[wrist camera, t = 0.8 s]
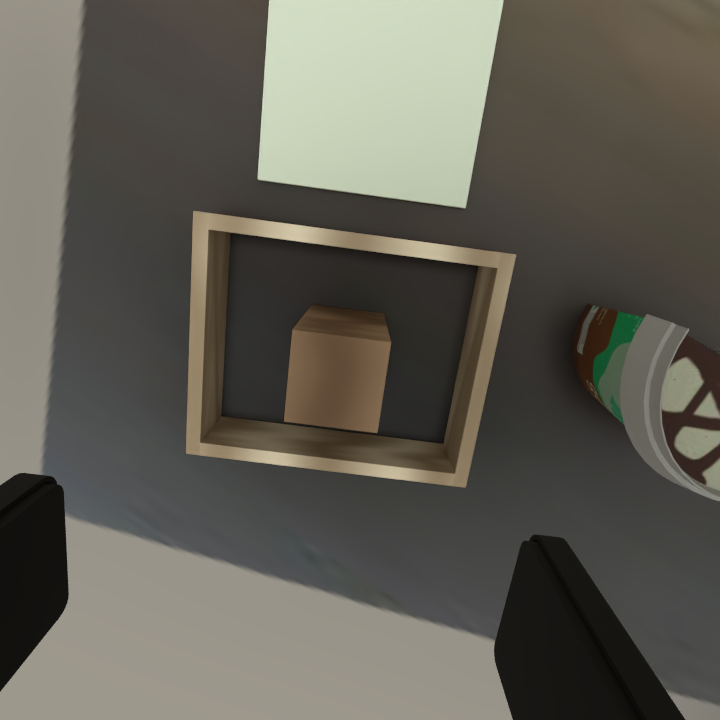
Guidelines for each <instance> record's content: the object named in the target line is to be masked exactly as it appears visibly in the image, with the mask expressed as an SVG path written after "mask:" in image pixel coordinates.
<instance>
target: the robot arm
mask: <svg viewBox="0 0 720 720" xmlns="http://www.w3.org/2000/svg"><path fill="white" fill-rule="evenodd" d="M67 573H68V572H67V552H66V531H65V509H64V491H63V488H62V486H60V485H57V482H56V480H55V479H54V478H53V477H51V476H44V475H36V474H27V473H19V474H17V475H15V476H13V477H12V478H10V479H9V480H8V481H6V482H5V483H3V484H2V485H0V691H1V690H2V689H3V687H4V686H5V685H6V684H7V682H8V681H9V680H10V679H11V677H12V676H13V675H14V674H15V672H16V671H17V670H18V669H19V667H20V666H21V665H22V664H23V662H24V661H25V660H26V659H27V657H28V656H29V655H30V654H31V652H32V651H33V650H34V649H35V647H36V646H37V645H38V644H39V642H40V641H41V640H42V639H43V637H44V636H45V635H46V633H47V632H48V631H49V630H50V628H51V627H52V626H53V625H54V624H55V622H56V621H57V620H58V619H59V617H60V616H61V614H62V613H63V611H64V609H65V607H66V604H67V601H68V594H69V593H68V574H67ZM494 654H495V655H494V656H495V663H496V666H497V670H498V673H499V676H500V679H501V683H502V686H503V689H504V692H505V696H506V699H507V702H508V705H509V708H510V712H511V715H512V718H513V720H685V719H684V717H683V716H682V714H681V713H680V711H679V710H678V708H677V707H676V705H675V704H674V702H673V701H672V699H671V698H670V696H669V695H668V693H667V692H666V690H665V689H664V687H663V686H662V684H661V683H660V681H659V680H658V678H657V677H656V675H655V674H654V672H653V671H652V669H651V668H650V666H649V665H648V663H647V662H646V660H645V659H644V657H643V656H642V654H641V653H640V651H639V650H638V648H637V647H636V645H635V644H634V642H633V641H632V639H631V638H630V636H629V635H628V633H627V632H626V630H625V629H624V627H623V626H622V624H621V623H620V621H619V620H618V618H617V617H616V615H615V614H614V612H613V611H612V609H611V608H610V606H609V605H608V603H607V602H606V600H605V599H604V597H603V596H602V594H601V593H600V591H599V590H598V588H597V587H596V585H595V584H594V582H593V581H592V579H591V578H590V576H589V575H588V573H587V572H586V570H585V569H584V567H583V566H582V564H581V563H580V561H579V560H578V558H577V557H576V555H575V554H574V552H573V551H572V549H571V548H570V546H569V545H568V543H567V542H566V541H565V540H564V539H563V538H560V537H552V536H544V535H533V536H532V537H531V538H530V540H529V541H523V543H522V544H521V547H520V551H519V554H518V558H517V562H516V566H515V569H514V573H513V577H512V581H511V584H510V588H509V592H508V596H507V599H506V603H505V607H504V611H503V614H502V618H501V622H500V626H499V629H498V633H497V637H496V641H495V646H494Z"/></svg>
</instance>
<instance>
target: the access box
mask: <svg viewBox="0 0 720 720" xmlns="http://www.w3.org/2000/svg"><path fill="white" fill-rule="evenodd" d="M231 233H239V234H246V235H254V236H261V237H269V238H276V239H283V240H291V241H298V242H306V243H313V244H321V245H328V246H336V247H343V248H350V249H358V250H365V251H373V252H380V253H388V254H395V255H403V256H410V257H418V258H425V259H432V260H440V261H447V262H455V263H462V264H470V265H477V266H478V270H477V275H476V280H475V286H474V291H473V296H472V301H471V306H470V311H469V316H468V321H467V326H466V331H465V337H464V342H463V347H462V352H461V357H460V362H459V367H458V372H457V377H456V382H455V387H454V393H453V398H452V403H451V408H450V413H449V418H448V423H447V428H446V433H445V438H444V444H441V443H433V442H425V441H417V440H409V439H400V438H392V437H384V436H376V435H368V434H360V433H352V432H344V431H336V430H328V429H320V428H312V427H304V426H295V425H287V424H279V423H271V422H263V421H255V420H247V419H239V418H231V417H223V416H221V413H222V393H223V374H224V355H225V335H226V316H227V297H228V278H229V258H230V239H231ZM515 258H516V255H515V254H508V253H501V252H493V251H486V250H478V249H471V248H464V247H456V246H449V245H441V244H434V243H427V242H419V241H412V240H404V239H397V238H390V237H382V236H375V235H367V234H360V233H353V232H345V231H338V230H330V229H323V228H316V227H308V226H301V225H293V224H286V223H279V222H271V221H264V220H257V219H249V218H242V217H234V216H227V215H220V214H212V213H205V212H197V211H193V238H192V271H191V304H190V337H189V370H188V403H187V437H186V454H193V455H202V456H210V457H218V458H226V459H235V460H243V461H251V462H259V463H268V464H276V465H284V466H292V467H300V468H309V469H317V470H325V471H333V472H342V473H350V474H358V475H366V476H374V477H383V478H391V479H399V480H407V481H416V482H424V483H432V484H440V485H449V486H457V487H465V488H466V484H467V480H468V475H469V470H470V466H471V461H472V457H473V452H474V447H475V443H476V438H477V433H478V429H479V424H480V420H481V415H482V410H483V406H484V401H485V397H486V392H487V387H488V383H489V378H490V374H491V369H492V364H493V360H494V355H495V350H496V346H497V341H498V337H499V332H500V327H501V323H502V318H503V314H504V309H505V304H506V300H507V295H508V290H509V286H510V281H511V277H512V272H513V267H514V263H515Z"/></svg>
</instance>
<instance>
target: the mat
mask: <svg viewBox="0 0 720 720" xmlns="http://www.w3.org/2000/svg"><path fill="white" fill-rule="evenodd" d="M503 1H504V0H269V12H268V27H267V43H266V58H265V73H264V89H263V104H262V119H261V135H260V150H259V166H258V180H259V181H267V182H274V183H281V184H288V185H296V186H303V187H310V188H317V189H325V190H332V191H339V192H347V193H354V194H361V195H368V196H376V197H383V198H390V199H398V200H405V201H412V202H419V203H427V204H434V205H441V206H448V207H456V208H463V209H464V208H466V203H467V198H468V192H469V187H470V181H471V176H472V170H473V165H474V159H475V154H476V148H477V143H478V137H479V132H480V127H481V121H482V116H483V110H484V105H485V99H486V94H487V88H488V83H489V77H490V72H491V66H492V61H493V55H494V50H495V44H496V39H497V33H498V28H499V23H500V17H501V12H502V6H503Z"/></svg>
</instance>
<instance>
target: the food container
mask: <svg viewBox="0 0 720 720" xmlns="http://www.w3.org/2000/svg"><path fill="white" fill-rule="evenodd" d="M689 330H690V329H688V328H685V327H682V326H678V325H676V324H674V323H672V322H669V321H666V320H663V319H660V318H657V317H654V316H651V315H648V314H646V316H645V317H641V316H637V315H633V314H628V313H624V312H620V311H616V310H612V309H608V308H604V307H600V306H595V305H591V304H588V305H587V307H586V309H585V311H584V312H583V314H582V316H581V318H580V320H579V322H578V326H577V330H576V334H575V338H574V342H573V354H574V367H575V370H576V372H577V374H578V376H579V378H580V381H581V383H582V385H583V387H584V388H585V389H586V390H587V391H588V392H589V393H590V394H591V395H592V396H593V397H594V398H595V399H596V400H597V401H598V402H599V403H600V404H602V405H603V406H604V407H605V408H606V409H607V410H608V411H609V412H610V413H612V414H613V415H614V416H615V417H616V418H617V419H618V420H619V421H620V422H622V423H623V424H624V425H625V429H626V431H627V434H628V436H629V438H630V440H631V442H632V444H633V446H634V448H635V449H636V450H637V452H638V453H639V454H640V456H641V457H642V458H643V460H644V461H645V462H646V463H647V464H648V465H650V466H651V467H652V468H653V469H654V470H655V471H656V472H657V473H659V474H660V475H662V476H664V477H665V478H667V479H668V480H670V481H671V482H674V483H676V484H678V485H680V486H683V487H685V488H687V489H689V490H692V491H694V492H696V493H698V494H701V495H703V496H706V497H708V498H710V499H713V500H717V501H720V354H718V353H716V352H715V351H713V350H711V349H709V348H708V347H706V346H704V345H702V344H701V343H699V342H697V341H695V340H693V339H692V338H690V337H688V336H686V334H687V333H688V331H689Z"/></svg>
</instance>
